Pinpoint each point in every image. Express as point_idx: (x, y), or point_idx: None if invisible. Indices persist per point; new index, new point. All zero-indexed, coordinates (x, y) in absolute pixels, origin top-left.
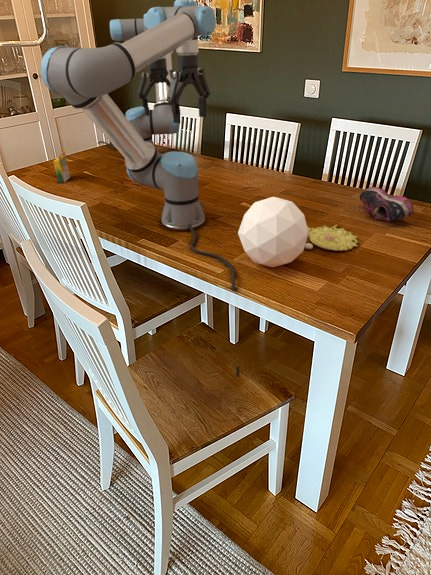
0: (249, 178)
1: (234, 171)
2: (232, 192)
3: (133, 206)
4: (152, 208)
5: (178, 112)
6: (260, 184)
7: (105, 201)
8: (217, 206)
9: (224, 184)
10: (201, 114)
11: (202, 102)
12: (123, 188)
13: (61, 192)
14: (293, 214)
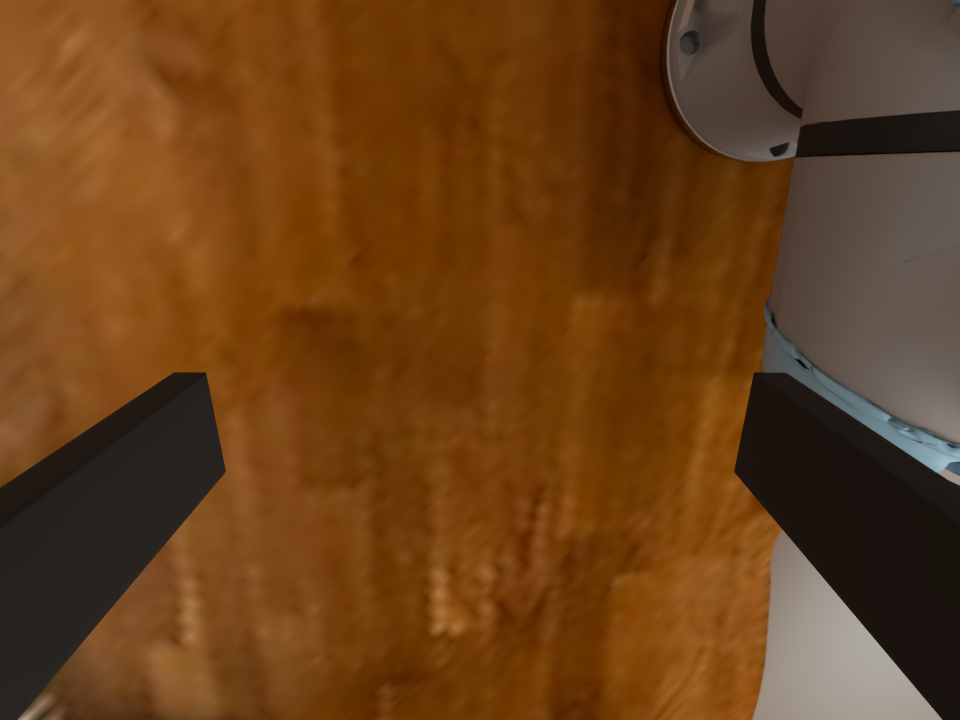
0: (55, 181)
1: (47, 330)
2: (293, 111)
3: (721, 385)
4: (699, 302)
5: (901, 453)
6: (71, 51)
7: (732, 510)
8: (505, 37)
9: (235, 237)
10: (197, 447)
11: (41, 554)
12: (583, 561)
13: (739, 684)
14: None
